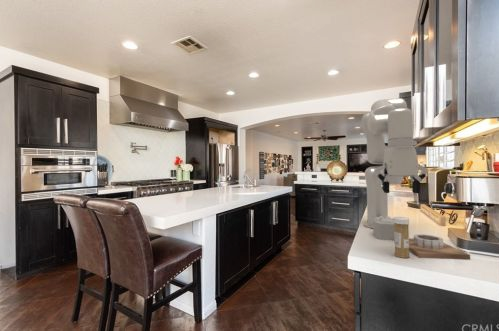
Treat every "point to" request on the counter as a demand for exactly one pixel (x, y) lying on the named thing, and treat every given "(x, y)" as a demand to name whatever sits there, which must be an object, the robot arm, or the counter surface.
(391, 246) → the counter surface
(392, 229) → the lumpy-topped squat cylinder
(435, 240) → the socket ring
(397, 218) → the sprinkles bottle
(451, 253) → the walnut board
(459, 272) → the counter surface
